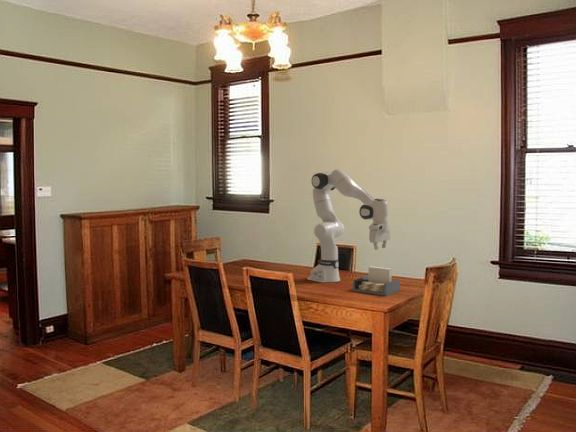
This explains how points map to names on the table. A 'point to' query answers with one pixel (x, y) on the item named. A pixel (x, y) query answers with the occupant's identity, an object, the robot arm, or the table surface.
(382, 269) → the cream slab
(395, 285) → the rack
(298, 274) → the table surface
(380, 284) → the offcut stack
